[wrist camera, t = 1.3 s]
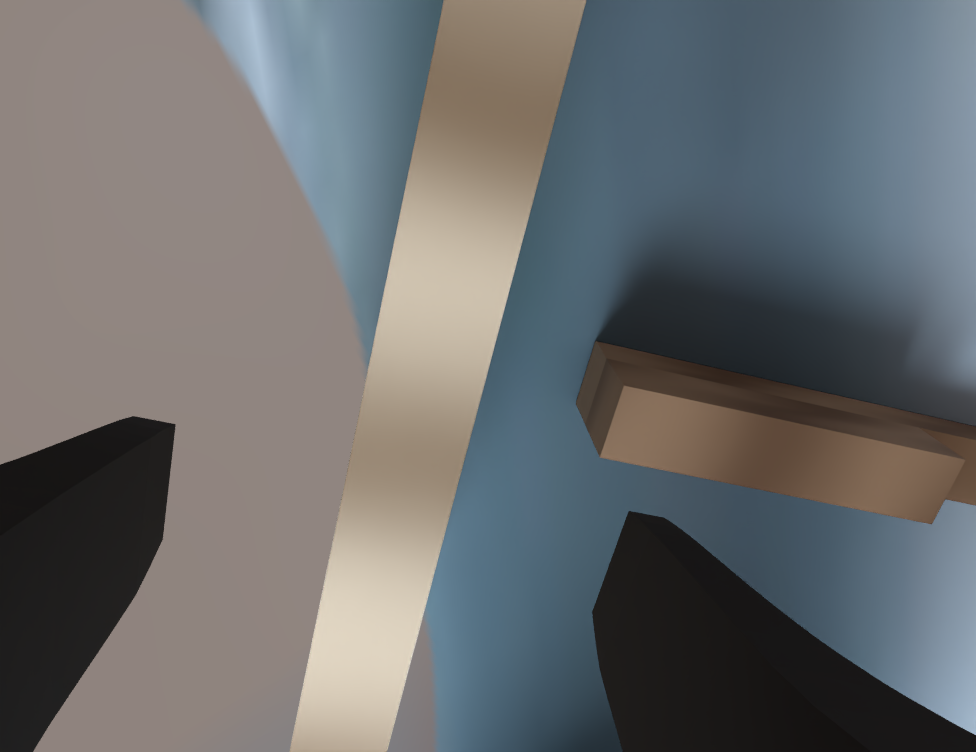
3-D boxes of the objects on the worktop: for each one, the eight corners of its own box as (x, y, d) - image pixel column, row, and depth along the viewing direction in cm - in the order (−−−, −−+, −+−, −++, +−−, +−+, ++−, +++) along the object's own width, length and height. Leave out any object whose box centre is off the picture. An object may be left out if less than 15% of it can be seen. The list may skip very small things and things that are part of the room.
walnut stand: (1224, 482, 24) (1348, 543, 21) (1190, 533, 25) (1304, 599, 21) (595, 340, 21) (624, 385, 18) (576, 403, 22) (599, 457, 18)
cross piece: (389, 598, 24) (366, 829, 16) (328, 589, 23) (276, 818, 16) (535, 2, 18) (605, -72, 10) (455, -22, 17) (467, -114, 10)
